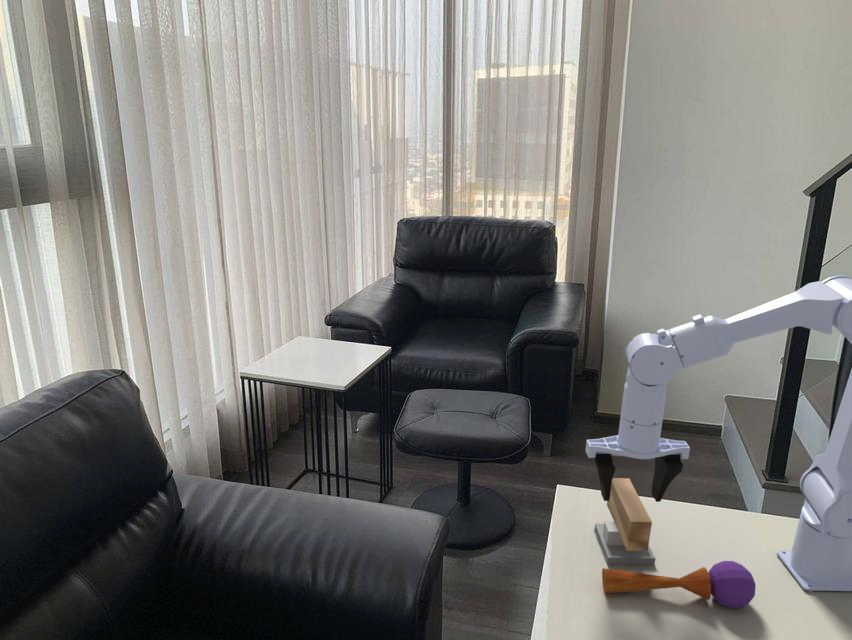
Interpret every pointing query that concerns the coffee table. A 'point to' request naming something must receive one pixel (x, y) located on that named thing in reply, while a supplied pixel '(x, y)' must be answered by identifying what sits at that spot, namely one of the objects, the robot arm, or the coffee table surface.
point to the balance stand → (620, 547)
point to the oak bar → (629, 515)
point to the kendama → (691, 583)
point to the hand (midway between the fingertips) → (630, 497)
